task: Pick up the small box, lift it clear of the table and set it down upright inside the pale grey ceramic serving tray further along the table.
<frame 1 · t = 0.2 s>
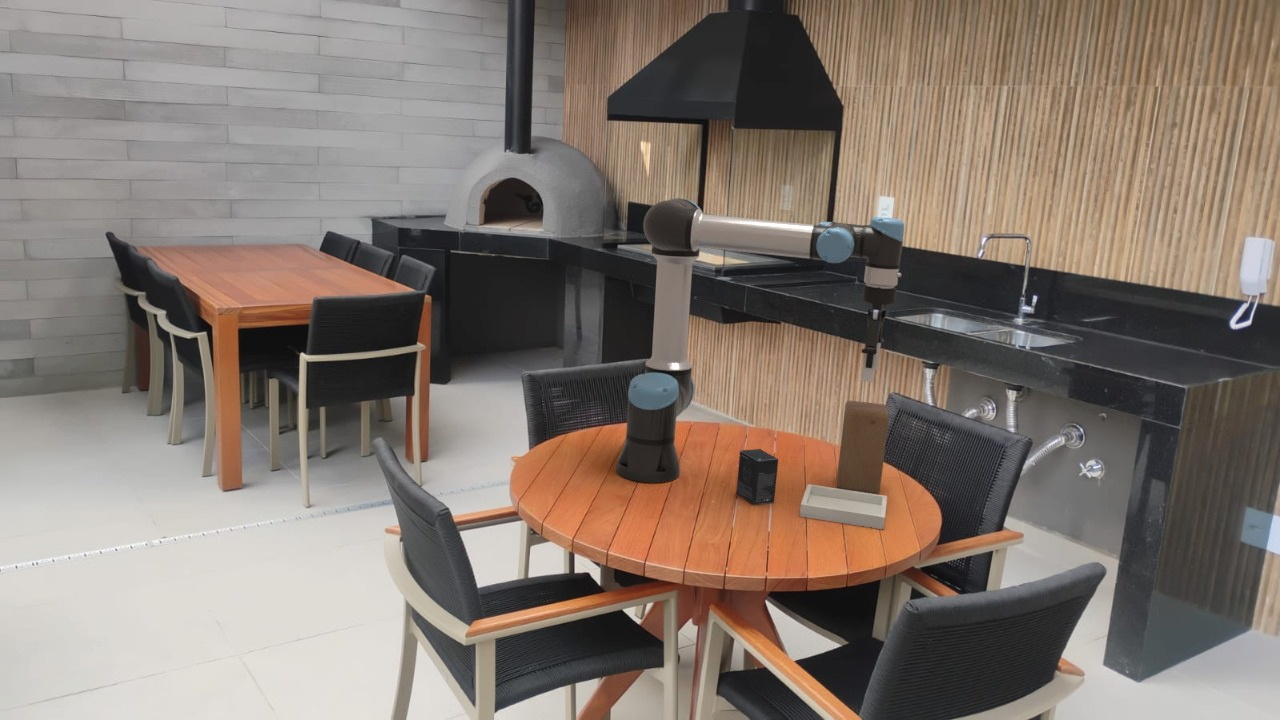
hand: (869, 375, 232), 28 cm above the table, fingers open, 13 cm apart
tray: (843, 511, 220), on the table
wooden block: (857, 487, 238), on the table
box: (754, 499, 225), on the table
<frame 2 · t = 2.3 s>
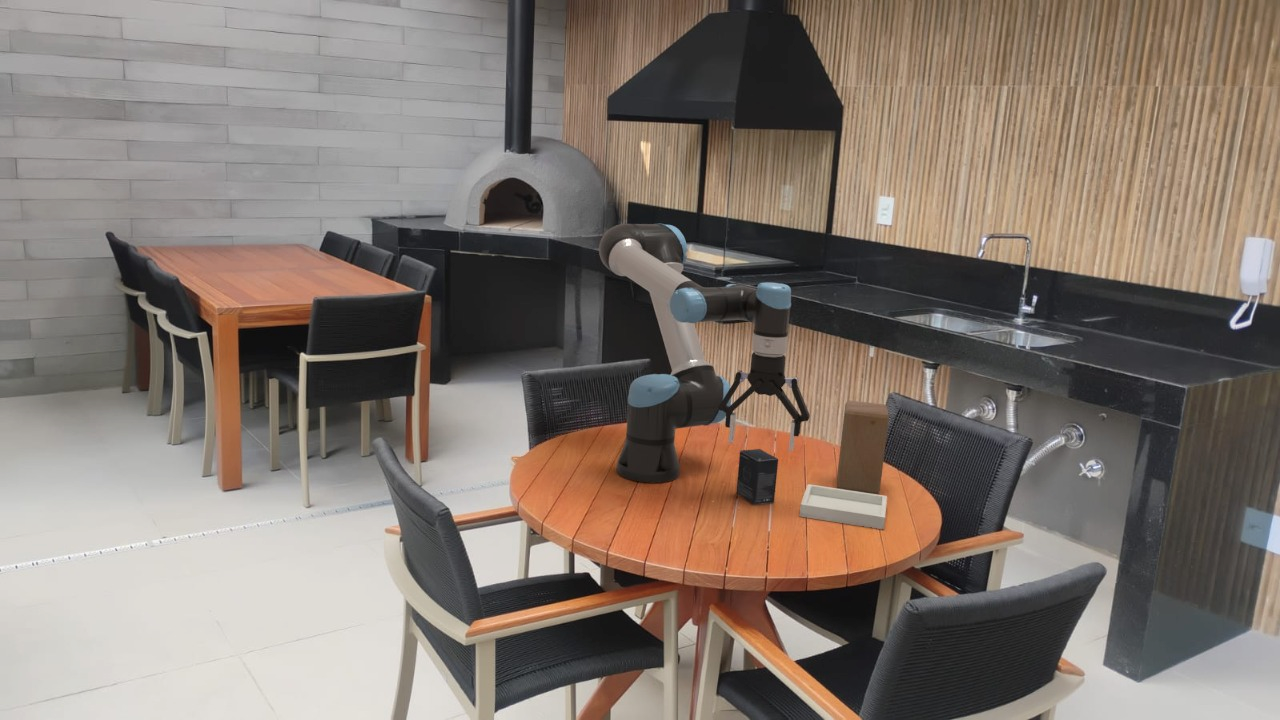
hand: (760, 445, 222), 13 cm above the table, fingers open, 13 cm apart
nothing on the table moved.
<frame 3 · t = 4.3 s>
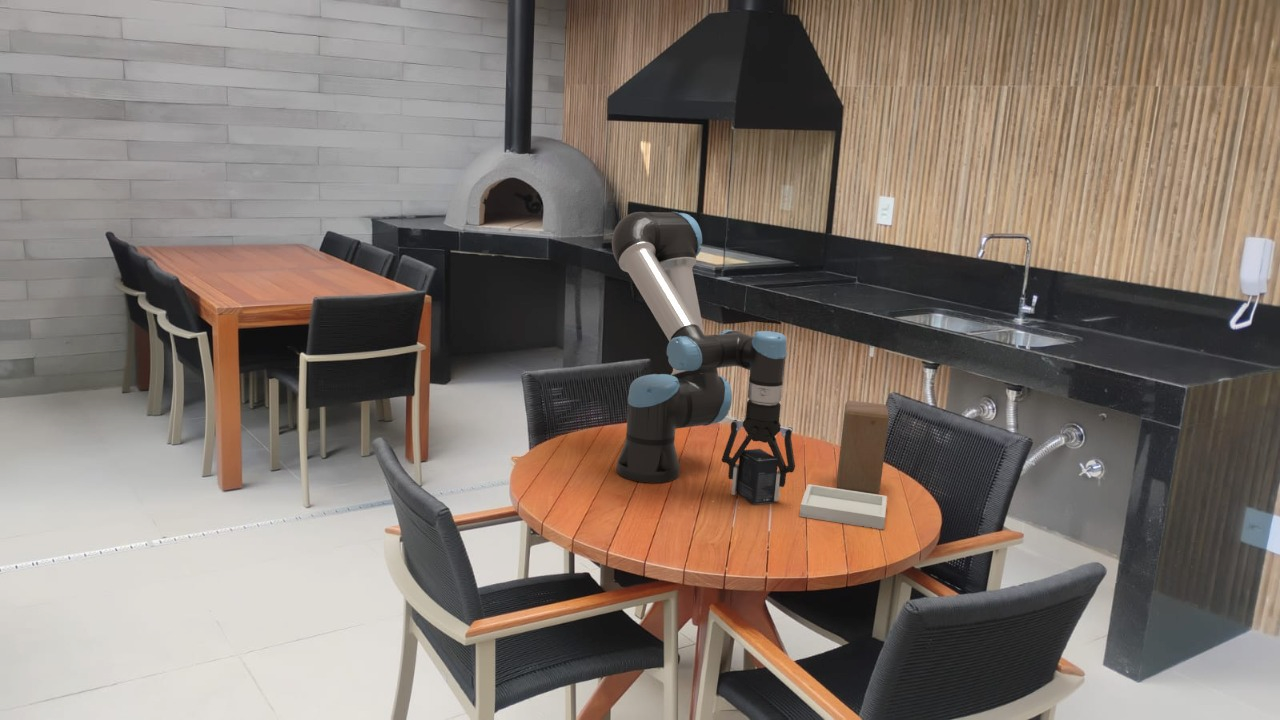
hand: (755, 495, 225), 1 cm above the table, fingers closed on box, 9 cm apart
box: (754, 498, 225), on the table, touching gripper
everything else where it was.
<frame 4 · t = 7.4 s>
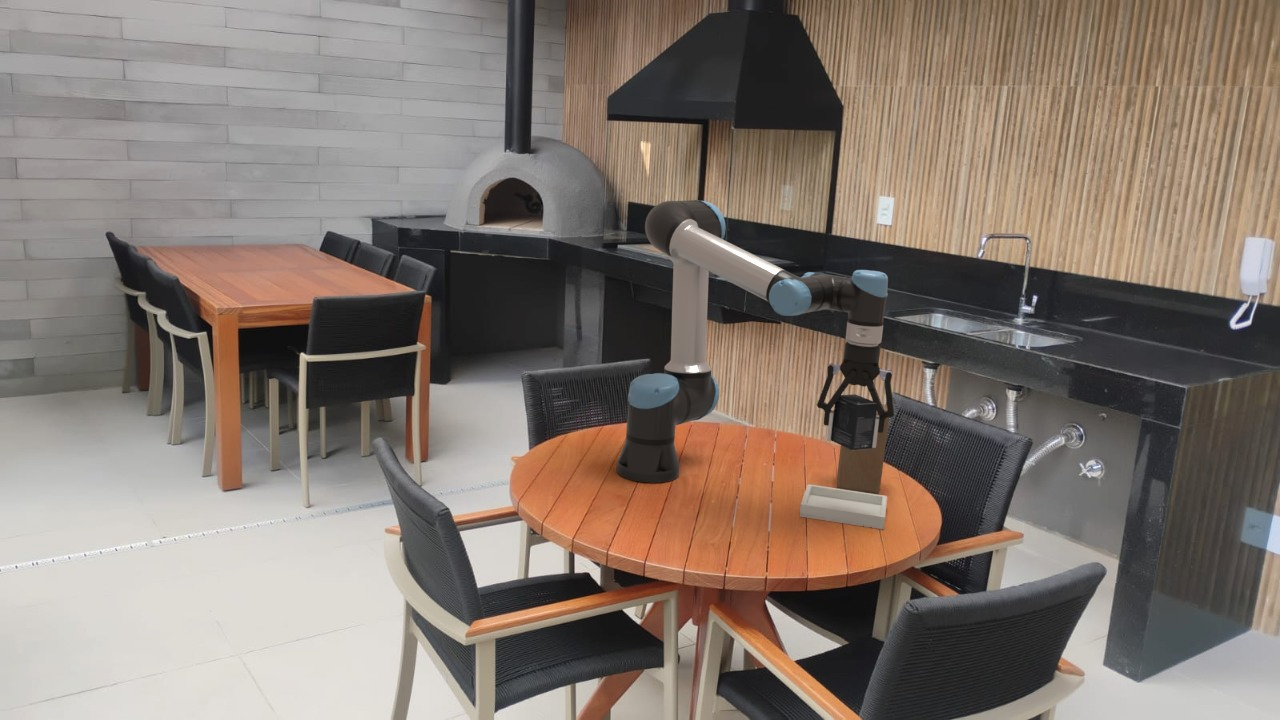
hand: (851, 442, 217), 16 cm above the table, fingers closed on box, 9 cm apart
box: (850, 445, 217), point 15 cm above the table, touching gripper
everything else where it was.
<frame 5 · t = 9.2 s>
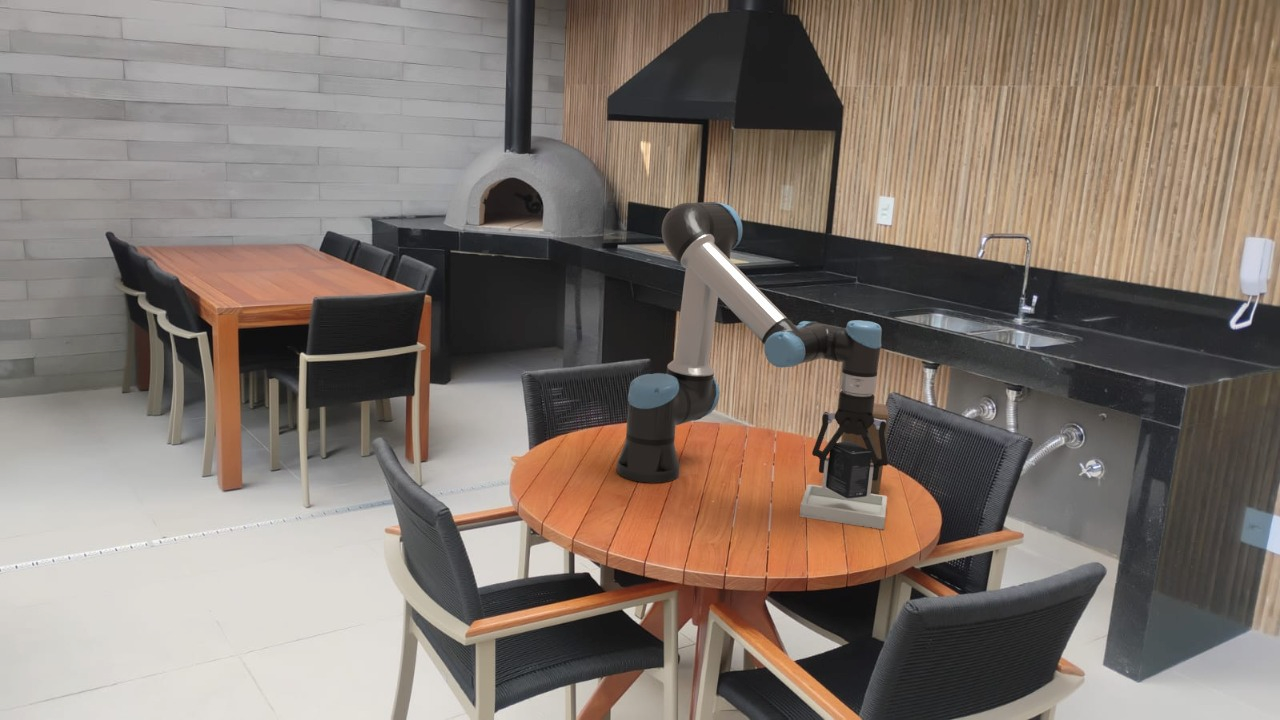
hand: (846, 490, 219), 5 cm above the table, fingers closed on box, 9 cm apart
box: (845, 493, 219), point 4 cm above the table, touching gripper
everything else where it was.
when the fingers open (3 cm above the table, at t = 10.5 s): box drops 2 cm, resting on tray.
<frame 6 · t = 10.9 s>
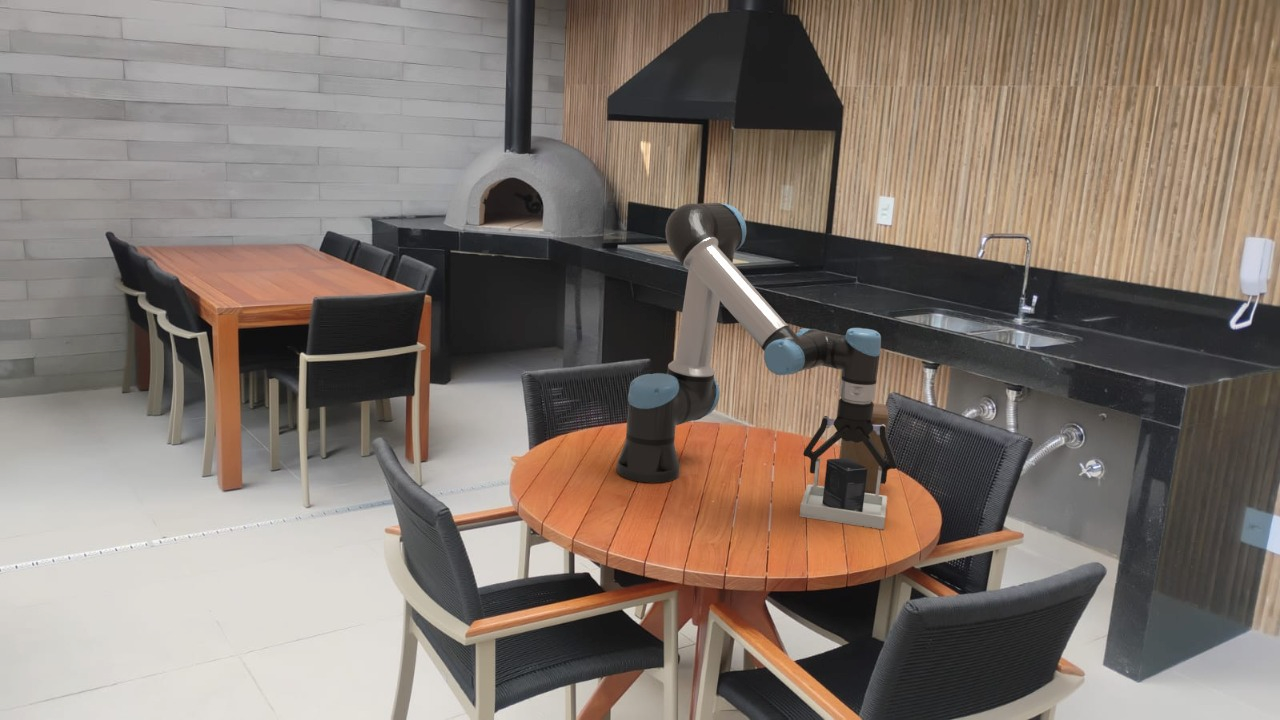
hand: (845, 492, 219), 5 cm above the table, fingers open, 13 cm apart
box: (841, 509, 220), point 1 cm above the table, touching tray
everything else where it was.
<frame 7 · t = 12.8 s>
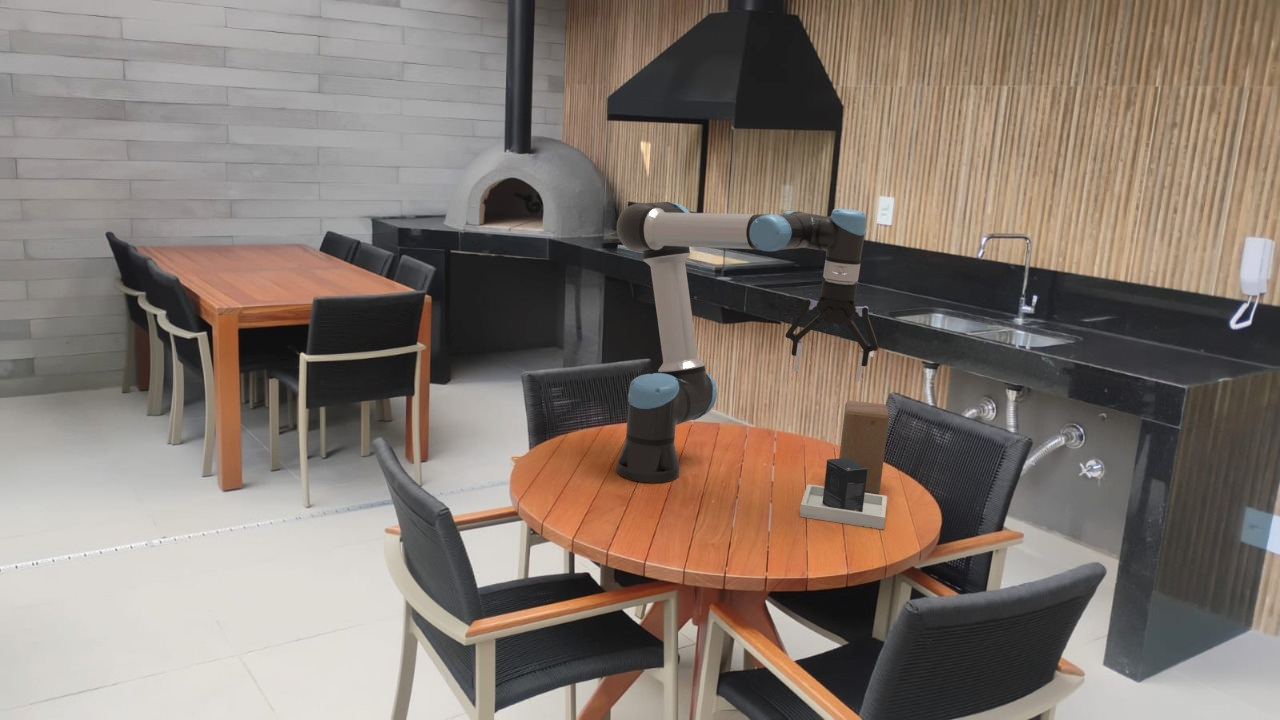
hand: (826, 375, 220), 30 cm above the table, fingers open, 13 cm apart
nothing on the table moved.
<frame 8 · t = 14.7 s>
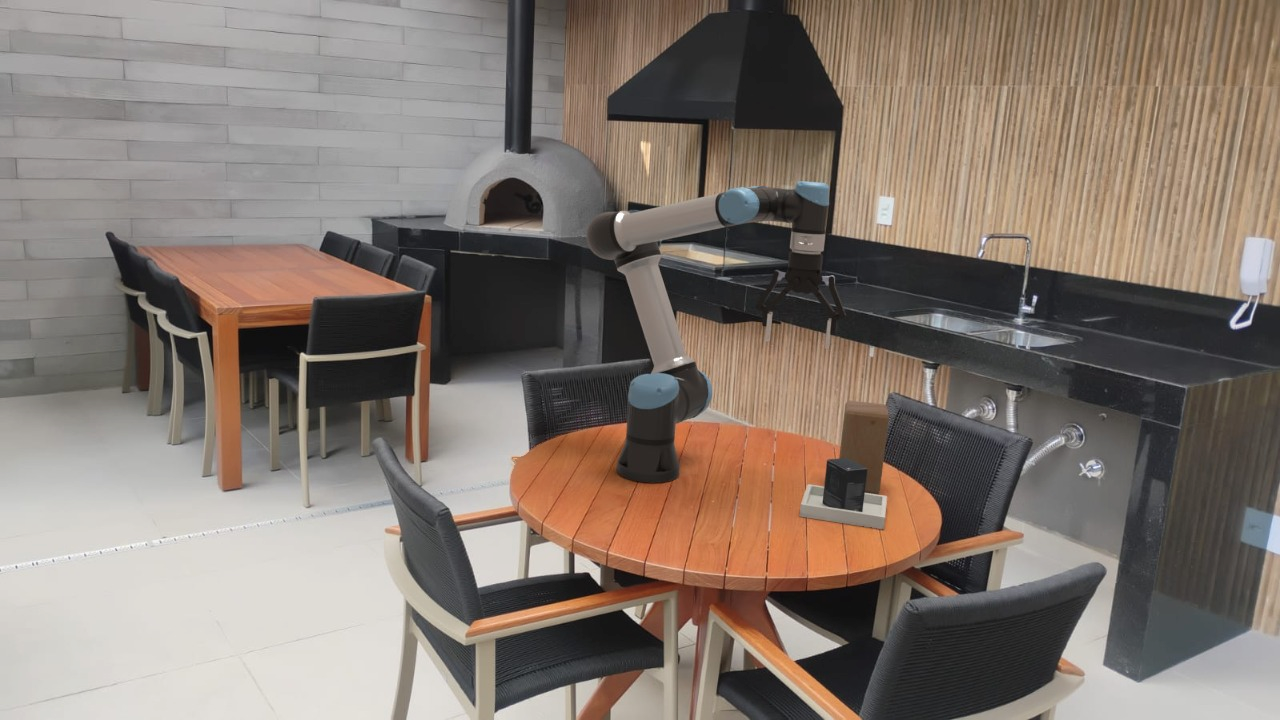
hand: (796, 344, 226), 35 cm above the table, fingers open, 13 cm apart
nothing on the table moved.
at the end: box inside the target area on the tray (0.4 cm from its centre), point 0.6 cm above the tray's base; box tilted 0°; the gripper is holding nothing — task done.
